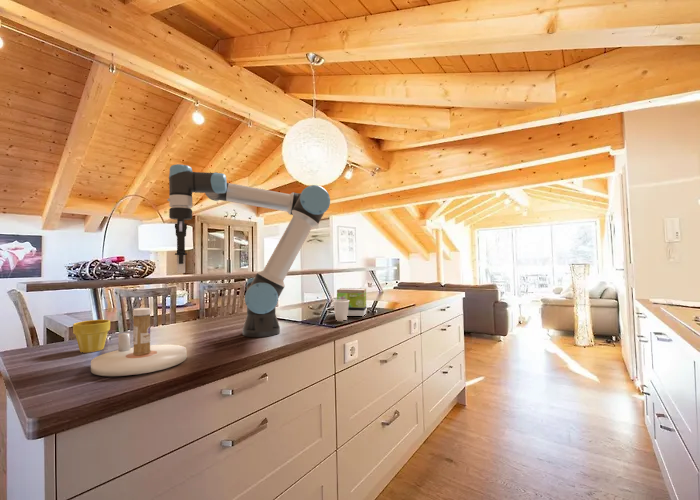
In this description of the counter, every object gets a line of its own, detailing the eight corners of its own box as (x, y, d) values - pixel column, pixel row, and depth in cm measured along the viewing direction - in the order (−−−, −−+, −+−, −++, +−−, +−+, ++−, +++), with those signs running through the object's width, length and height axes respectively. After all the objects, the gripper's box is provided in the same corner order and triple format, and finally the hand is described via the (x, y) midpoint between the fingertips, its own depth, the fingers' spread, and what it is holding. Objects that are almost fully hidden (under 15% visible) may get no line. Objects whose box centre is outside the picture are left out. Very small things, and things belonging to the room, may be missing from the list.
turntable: (158, 348, 118) (158, 326, 118) (203, 357, 106) (203, 333, 106) (74, 367, 98) (75, 341, 98) (117, 381, 85) (118, 351, 86)
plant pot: (90, 354, 113) (90, 325, 114) (64, 353, 116) (65, 324, 116) (117, 347, 124) (117, 319, 124) (93, 346, 126) (93, 319, 126)
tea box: (336, 317, 184) (336, 289, 185) (340, 314, 194) (339, 287, 195) (364, 317, 182) (364, 289, 182) (366, 314, 192) (366, 287, 192)
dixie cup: (331, 321, 170) (331, 301, 170) (334, 318, 178) (334, 299, 178) (348, 321, 169) (348, 301, 169) (350, 319, 177) (350, 299, 177)
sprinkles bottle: (149, 354, 101) (149, 308, 101) (131, 356, 99) (131, 309, 99) (151, 351, 105) (151, 306, 105) (134, 352, 103) (134, 307, 104)
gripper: (170, 210, 130) (170, 273, 129) (168, 204, 118) (168, 273, 117) (192, 211, 133) (192, 272, 132) (192, 206, 121) (192, 273, 120)
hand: (181, 273), depth 125 cm, fingers closed
